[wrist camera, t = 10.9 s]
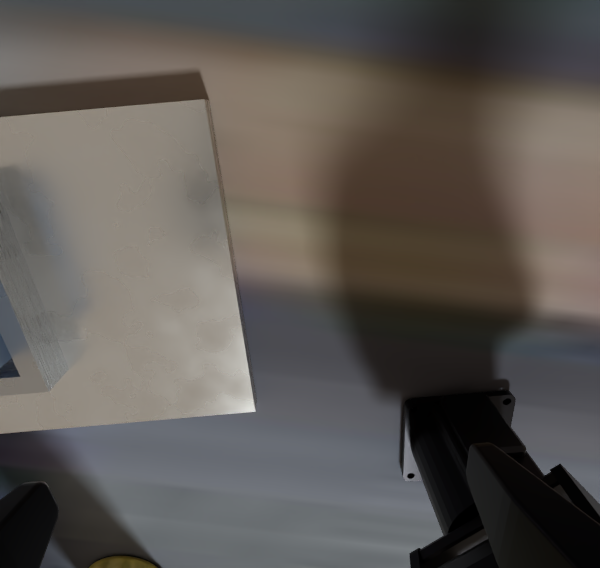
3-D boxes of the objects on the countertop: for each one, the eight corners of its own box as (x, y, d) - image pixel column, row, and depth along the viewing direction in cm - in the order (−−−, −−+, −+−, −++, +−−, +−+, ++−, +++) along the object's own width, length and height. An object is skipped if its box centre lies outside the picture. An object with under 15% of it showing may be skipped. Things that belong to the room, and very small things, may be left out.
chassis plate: (256, 399, 22) (252, 435, 20) (-79, 428, 22) (-127, 468, 20) (209, 100, 16) (194, 95, 13) (-260, 141, 16) (-366, 145, 13)
